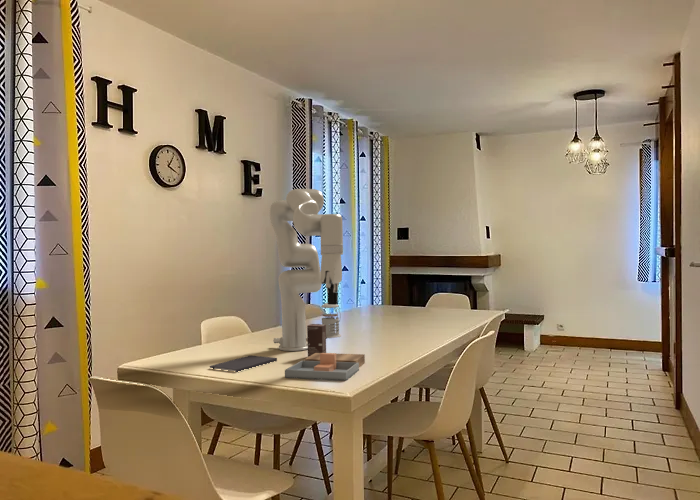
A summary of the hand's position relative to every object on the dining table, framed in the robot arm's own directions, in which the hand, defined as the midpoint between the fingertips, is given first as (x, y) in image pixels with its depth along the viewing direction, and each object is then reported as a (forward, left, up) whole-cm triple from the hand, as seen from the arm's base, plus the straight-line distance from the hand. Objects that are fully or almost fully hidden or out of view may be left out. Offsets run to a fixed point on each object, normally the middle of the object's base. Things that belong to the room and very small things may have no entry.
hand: (332, 304), depth 193 cm
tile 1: (0, -12, -19) cm, 22 cm away
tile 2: (0, -6, -18) cm, 19 cm away
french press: (-21, +61, -21) cm, 68 cm away
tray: (0, -13, -21) cm, 25 cm away
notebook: (-32, -4, -22) cm, 39 cm away
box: (-11, +13, -21) cm, 27 cm away
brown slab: (0, 0, -21) cm, 21 cm away
